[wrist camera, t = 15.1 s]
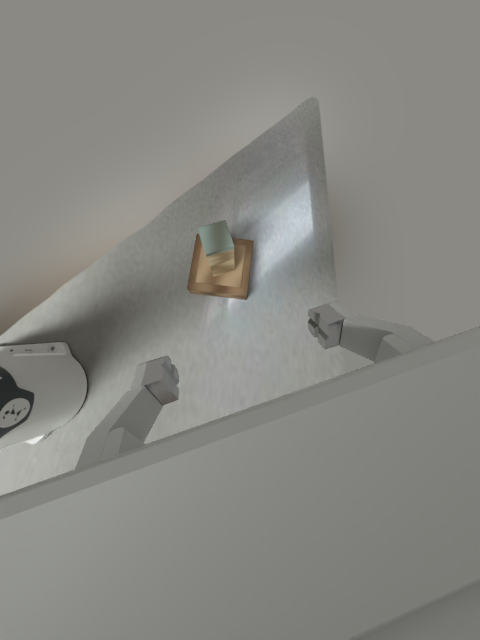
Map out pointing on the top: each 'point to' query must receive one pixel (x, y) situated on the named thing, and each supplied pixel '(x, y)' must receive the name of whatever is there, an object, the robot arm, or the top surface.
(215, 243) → the tan tall block
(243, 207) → the top surface
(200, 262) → the base slab
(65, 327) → the top surface
